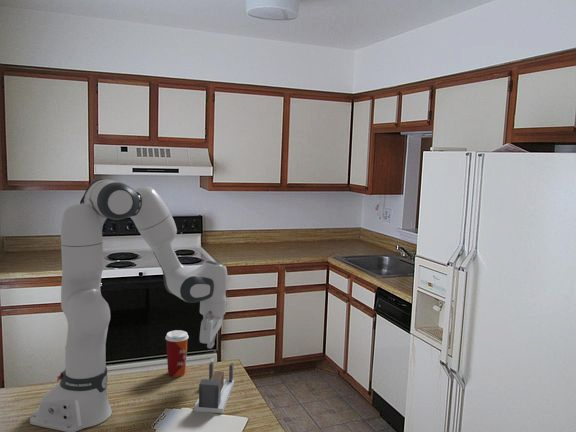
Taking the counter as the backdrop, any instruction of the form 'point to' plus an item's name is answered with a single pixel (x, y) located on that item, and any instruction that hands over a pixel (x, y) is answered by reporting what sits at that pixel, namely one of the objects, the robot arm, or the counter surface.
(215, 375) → the slat
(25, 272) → the counter surface
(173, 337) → the coffee cup
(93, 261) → the robot arm
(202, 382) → the endcap frame
